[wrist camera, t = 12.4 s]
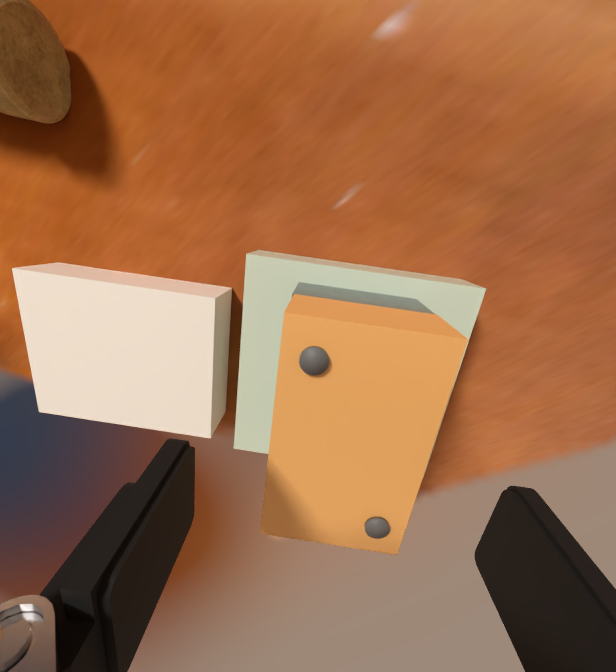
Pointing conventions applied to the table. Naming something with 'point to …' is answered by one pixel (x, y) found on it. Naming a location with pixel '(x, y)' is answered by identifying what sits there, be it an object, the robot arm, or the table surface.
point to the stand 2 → (288, 270)
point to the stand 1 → (126, 346)
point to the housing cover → (355, 420)
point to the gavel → (32, 65)
